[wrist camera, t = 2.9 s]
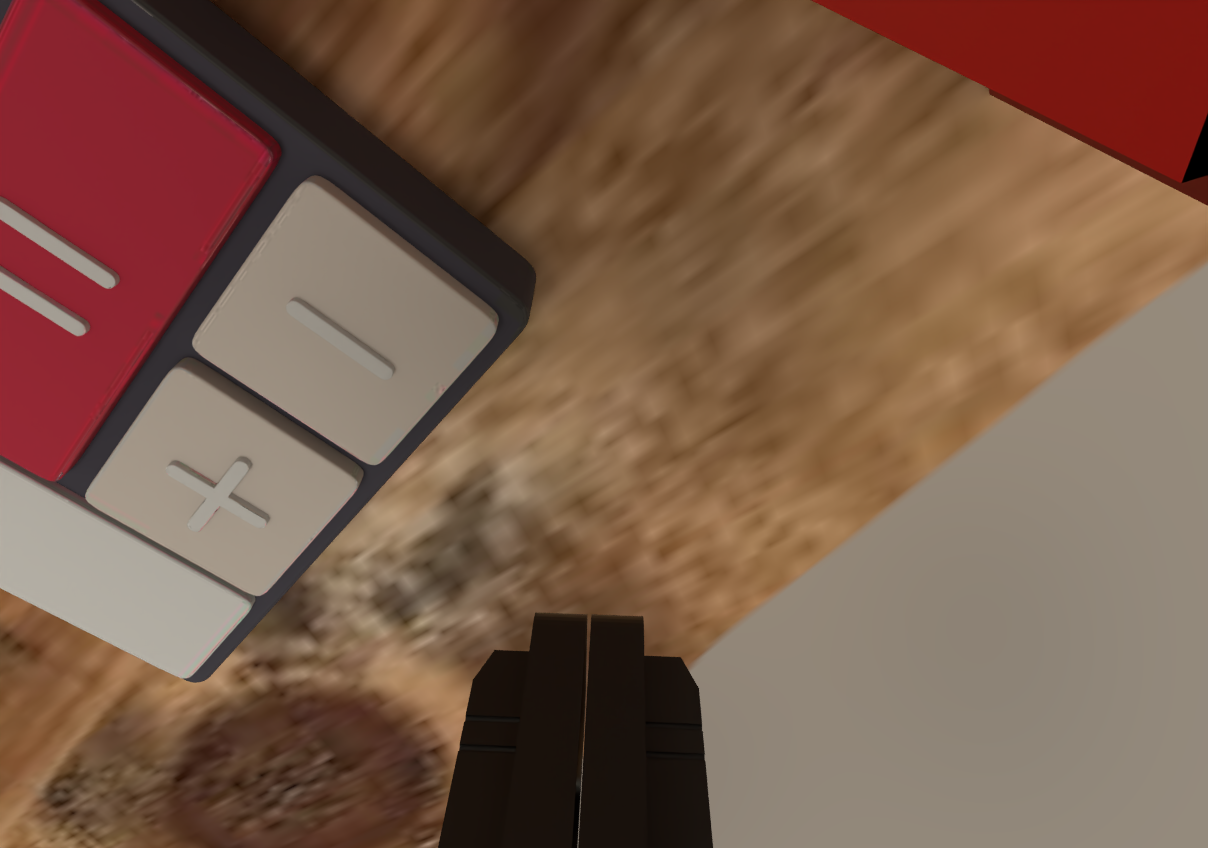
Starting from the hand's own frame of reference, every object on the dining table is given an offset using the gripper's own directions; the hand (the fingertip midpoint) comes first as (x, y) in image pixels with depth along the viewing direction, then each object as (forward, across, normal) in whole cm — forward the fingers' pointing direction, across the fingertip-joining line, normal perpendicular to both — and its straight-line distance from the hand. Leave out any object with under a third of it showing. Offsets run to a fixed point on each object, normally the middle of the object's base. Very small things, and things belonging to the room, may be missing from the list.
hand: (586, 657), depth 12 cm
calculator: (+11, +10, +1) cm, 15 cm away
